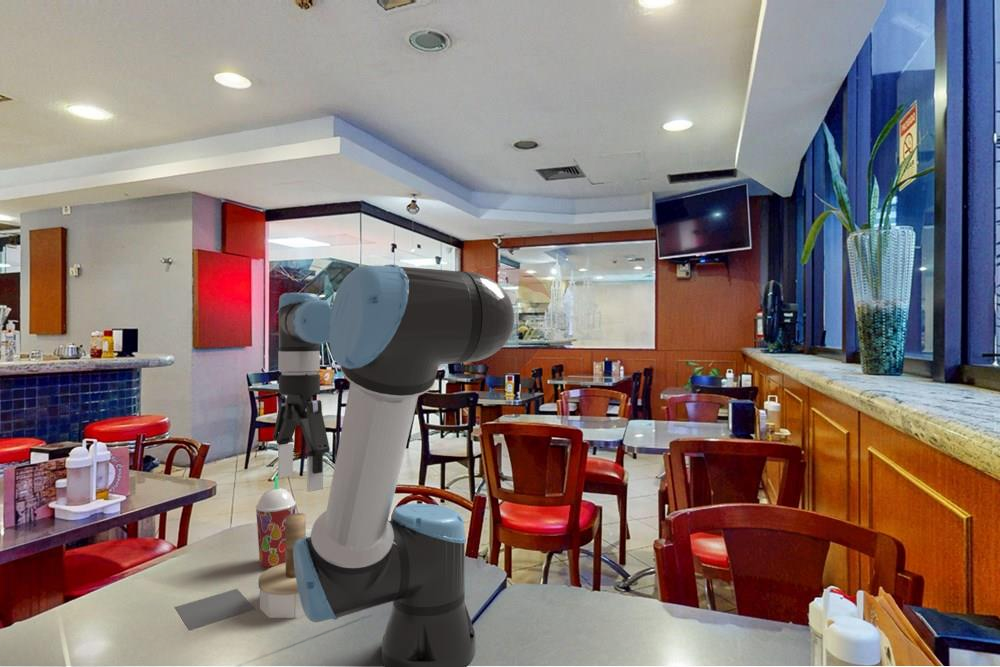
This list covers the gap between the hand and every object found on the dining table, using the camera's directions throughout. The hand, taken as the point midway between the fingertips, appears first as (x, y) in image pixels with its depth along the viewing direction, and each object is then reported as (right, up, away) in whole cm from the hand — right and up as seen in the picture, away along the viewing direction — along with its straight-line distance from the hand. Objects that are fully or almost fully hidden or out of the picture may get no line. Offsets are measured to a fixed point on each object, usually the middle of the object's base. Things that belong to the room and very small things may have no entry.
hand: (299, 483), depth 105 cm
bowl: (0, -23, -1) cm, 23 cm away
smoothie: (-12, -23, +17) cm, 31 cm away
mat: (-15, -23, -3) cm, 28 cm away
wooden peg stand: (0, -18, -1) cm, 18 cm away
